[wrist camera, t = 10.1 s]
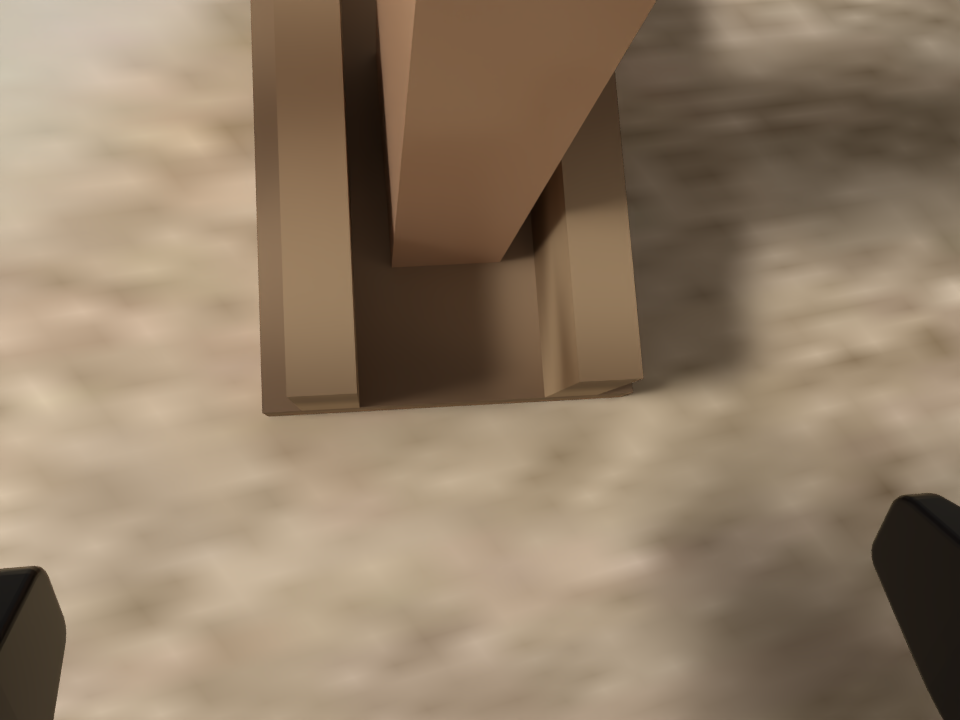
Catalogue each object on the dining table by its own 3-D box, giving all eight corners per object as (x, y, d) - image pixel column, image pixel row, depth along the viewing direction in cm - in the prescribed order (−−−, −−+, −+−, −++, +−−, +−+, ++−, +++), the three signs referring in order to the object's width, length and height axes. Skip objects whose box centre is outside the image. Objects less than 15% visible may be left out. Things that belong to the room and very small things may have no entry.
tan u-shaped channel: (619, 397, 19) (685, 376, 15) (268, 416, 18) (238, 399, 14) (580, -37, 20) (630, -161, 16) (255, -44, 19) (224, -179, 15)
